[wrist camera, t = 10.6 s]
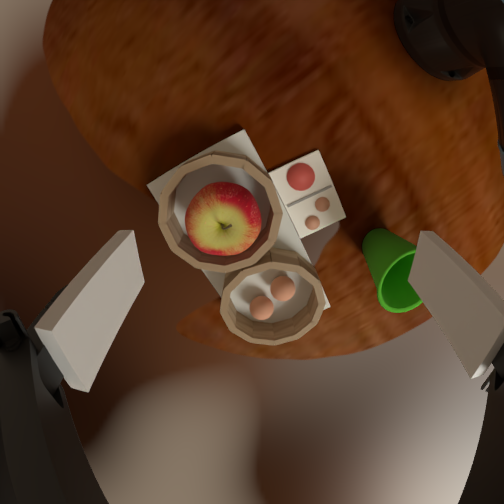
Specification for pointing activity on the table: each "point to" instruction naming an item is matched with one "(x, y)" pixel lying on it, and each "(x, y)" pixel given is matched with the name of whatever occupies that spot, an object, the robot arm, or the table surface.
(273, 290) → the ball
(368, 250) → the cup
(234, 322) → the ring
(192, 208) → the apple
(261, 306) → the ball
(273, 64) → the table surface
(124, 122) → the table surface
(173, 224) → the ring
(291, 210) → the card
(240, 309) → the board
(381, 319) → the table surface
